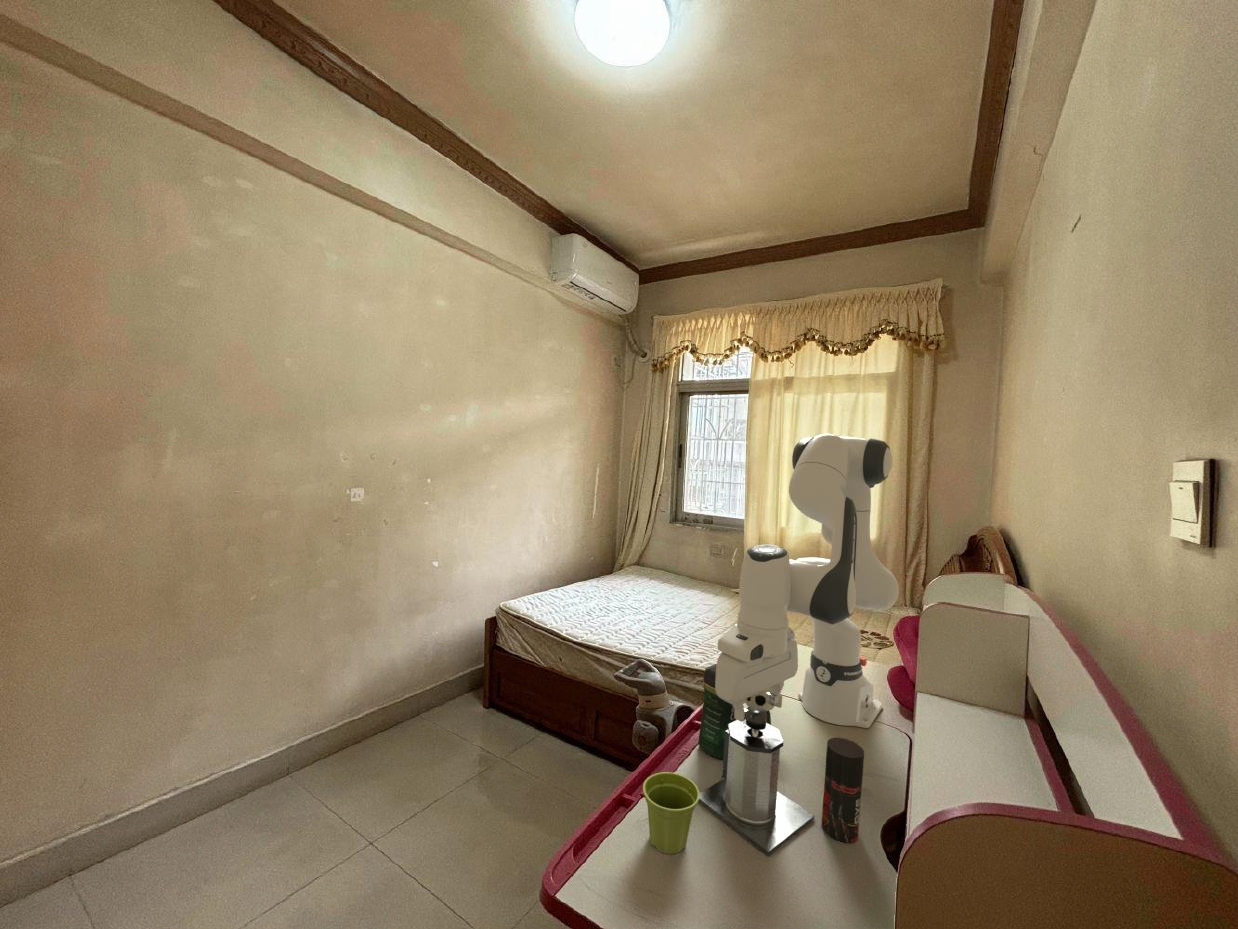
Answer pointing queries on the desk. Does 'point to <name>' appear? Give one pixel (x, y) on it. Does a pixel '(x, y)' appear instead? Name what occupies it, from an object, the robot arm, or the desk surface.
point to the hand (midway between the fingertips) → (757, 711)
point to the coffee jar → (714, 717)
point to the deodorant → (842, 790)
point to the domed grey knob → (756, 719)
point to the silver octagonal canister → (754, 790)
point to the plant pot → (670, 809)
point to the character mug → (763, 703)
